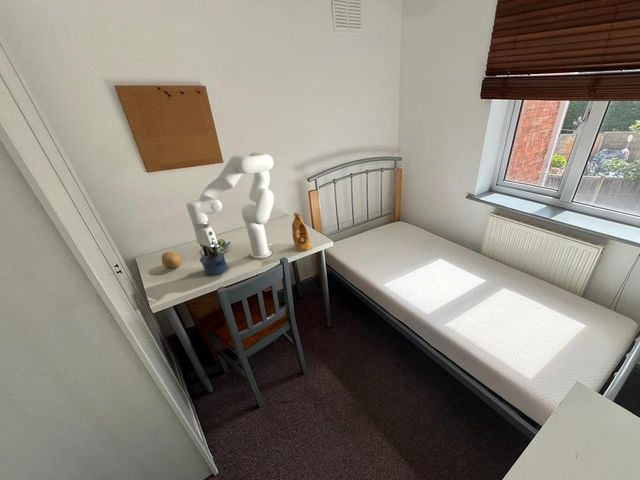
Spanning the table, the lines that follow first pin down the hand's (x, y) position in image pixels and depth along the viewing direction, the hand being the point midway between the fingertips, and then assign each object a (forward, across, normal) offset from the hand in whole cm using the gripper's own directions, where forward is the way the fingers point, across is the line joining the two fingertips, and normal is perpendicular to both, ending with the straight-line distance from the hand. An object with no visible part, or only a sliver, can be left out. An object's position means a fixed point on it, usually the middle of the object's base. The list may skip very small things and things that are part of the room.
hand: (211, 255), depth 159 cm
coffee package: (+10, -26, -46) cm, 53 cm away
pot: (+10, 0, 0) cm, 10 cm away
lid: (+2, 0, 0) cm, 2 cm away
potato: (+10, +28, +6) cm, 30 cm away
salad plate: (+10, +23, -20) cm, 32 cm away
